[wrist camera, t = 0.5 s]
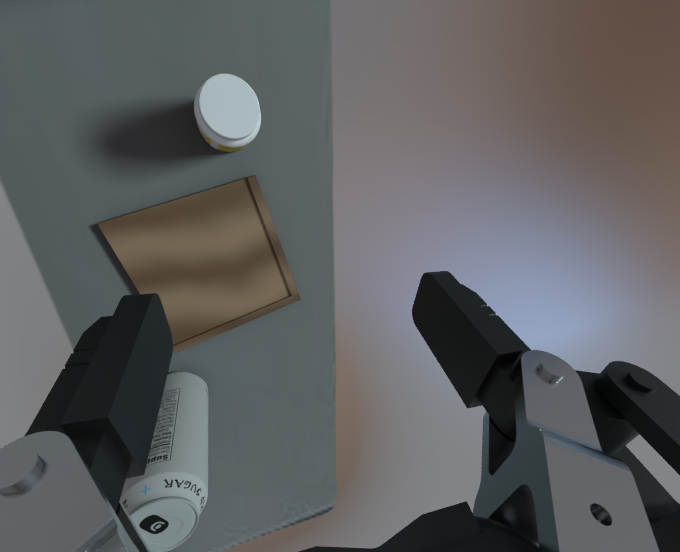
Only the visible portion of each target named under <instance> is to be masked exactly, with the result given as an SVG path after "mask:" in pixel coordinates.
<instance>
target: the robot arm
mask: <svg viewBox="0 0 680 552" xmlns="http://www.w3.org/2000/svg"><path fill="white" fill-rule="evenodd" d="M412 316H413V320H414V323H415V325H416V327H417V329H418V330H419V332H420V333H421V335H422V337H423V338H424V340H425V341H426V343H427V345H428V346H429V348H430V349H431V351H432V353H433V354H434V356H435V357H436V359H437V360H438V362H439V363H440V365H441V367H442V368H443V370H444V372H445V373H446V375H447V376H448V378H449V379H450V381H451V383H452V384H453V386H454V388H455V389H456V391H457V392H458V394H459V396H460V397H461V399H462V400H463V402H464V403H465V405H466V407H467V408H471V407H476V406H481V405H483V407H484V408H485V410H486V413H485V415H484V417H483V442H482V471H481V473H482V475H481V483H480V487H479V490H478V493H477V496H476V499H475V504H474V509H473V513H472V512H471V509H470V507H469V505H468V503H467V502H463V503H459V504H456V505H453V506H450V507H446V508H443V509H439V510H436V511H433V512H429V513H426V514H423V515H421V516H420V517H418V518H417V519H416V520H414V521H413V522H412V523H410V524H409V525H408V526H406V527H405V528H404V529H403V530H401V531H400V532H399V533H397V534H396V535H394V536H393V537H392V538H391V539H389V540H388V541H387V542H385V543H384V544H383V545H381V546H380V547H377V548H373V549H365V548H341V547H318V546H316V547H313V548H309V549H306V550H303V551H299V552H680V504H679V503H678V502H676V501H675V500H674V499H673V498H672V496H671V495H670V494H669V493H668V492H667V491H666V490H665V489H664V488H663V486H662V485H661V484H660V483H659V482H658V481H657V480H656V479H655V478H654V477H653V475H652V474H650V472H649V471H648V470H647V469H646V468H645V467H644V466H643V465H642V464H641V462H640V461H639V460H638V459H637V458H636V457H635V456H634V455H633V453H631V452H630V450H629V449H628V448H627V447H626V446H625V445H627V444H628V443H629V442H630V441H632V440H633V439H634V438H635V437H636V436H638V435H639V434H640V435H641V436H642V437H643V438H644V439H645V440H646V441H647V442H648V443H649V444H650V445H651V446H652V447H653V448H654V449H655V450H656V451H657V452H658V453H659V454H660V455H661V456H662V457H663V459H665V461H666V462H668V464H669V465H670V466H671V467H672V468H673V469H674V470H675V471H676V472H677V473H678V474H679V475H680V396H679V395H678V394H677V393H675V392H674V391H673V390H672V389H671V388H669V387H668V386H667V385H666V384H664V383H663V382H662V381H661V380H659V379H658V378H657V377H656V376H654V375H653V374H651V373H650V372H648V371H646V370H644V369H642V368H640V367H638V366H636V365H633V364H630V363H627V362H621V361H615V362H611V363H609V364H608V365H607V366H606V367H605V369H604V370H603V371H602V372H601V373H600V374H598V373H590V372H582V371H575V370H574V369H573V368H572V367H571V366H570V365H569V364H568V363H566V362H565V361H563V360H562V359H560V358H559V357H557V356H555V355H553V354H550V353H548V352H544V351H539V350H531V349H529V347H527V346H526V345H525V344H524V342H523V341H522V340H521V339H520V338H519V337H518V336H517V335H516V334H515V333H514V332H513V331H512V330H511V329H510V328H509V327H508V326H507V325H506V324H505V323H504V321H503V320H502V319H501V318H500V317H499V316H496V314H495V312H494V311H493V310H492V309H491V308H490V307H489V306H488V307H487V304H486V303H485V302H484V301H483V299H482V298H480V296H479V295H478V294H477V293H475V292H474V291H472V290H470V289H469V288H467V287H466V286H464V285H461V284H460V283H459V282H458V281H457V280H456V279H455V278H454V276H453V275H452V274H451V273H449V272H448V271H440V272H428V273H424V274H423V276H422V278H421V281H420V284H419V287H418V291H417V294H416V298H415V301H414V304H413V308H412ZM172 351H173V339H172V333H171V330H170V327H169V324H168V321H167V318H166V314H165V311H164V308H163V305H162V302H161V299H160V297H159V295H158V294H157V293H151V294H138V295H126V296H123V297H122V298H121V300H120V302H119V304H118V306H117V308H116V310H115V312H114V314H113V316H107V317H101V318H99V319H98V320H97V321H96V322H95V323H94V324H93V325H92V326H90V327H89V328H88V329H87V330H86V331H85V332H84V333H83V334H82V336H81V338H80V339H79V341H78V343H77V345H76V347H75V348H74V353H73V354H71V356H70V357H69V359H68V361H67V363H66V364H65V369H63V370H62V371H61V373H60V375H59V377H58V379H57V380H56V382H55V384H54V386H53V388H52V389H51V391H50V393H49V394H48V396H47V398H46V400H45V402H44V403H43V405H42V407H41V409H40V411H39V413H38V414H37V416H36V418H35V419H34V421H33V423H32V425H31V426H30V428H29V430H28V432H27V433H26V435H25V436H24V437H22V438H20V439H18V440H16V441H14V442H12V443H10V444H8V445H6V446H5V447H3V448H2V449H0V552H150V550H149V548H148V547H147V545H146V543H145V541H144V540H143V538H142V536H141V535H140V533H139V531H138V530H137V528H136V526H135V524H134V523H133V521H132V519H131V518H130V516H129V514H128V513H127V511H126V509H125V507H124V506H123V504H122V502H121V501H120V497H121V494H122V490H123V486H124V483H125V479H127V478H132V477H137V476H141V475H144V473H145V469H146V465H147V460H148V456H149V452H150V448H151V443H152V439H153V435H154V430H155V426H156V422H157V417H158V413H159V409H160V404H161V400H162V396H163V392H164V387H165V383H166V379H167V374H168V370H169V366H170V361H171V357H172Z"/></svg>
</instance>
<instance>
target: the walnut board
mask: <svg viewBox="0 0 680 552" xmlns="http://www.w3.org/2000/svg"><path fill="white" fill-rule="evenodd" d="M98 226H99V228H100V229H101V231H102V232H103V234H104V236H105V237H106V239H107V241H108V242H109V244H110V246H111V247H112V249H113V251H114V252H115V254H116V255H117V257H118V259H119V260H120V262H121V264H122V265H123V267H124V269H125V270H126V272H127V274H128V275H129V277H130V278H131V280H132V282H133V283H134V285H135V287H136V288H137V290H138V292H139V293H140V294H151V293H157V294H158V295H159V297H160V299H161V302H162V305H163V308H164V311H165V314H166V318H167V321H168V324H169V327H170V330H171V333H172V339H173V351H174V353H177V352H179V351H181V350H184V349H186V348H188V347H191V346H193V345H195V344H198V343H200V342H202V341H205V340H207V339H209V338H212V337H214V336H216V335H219V334H221V333H223V332H226V331H228V330H230V329H233V328H235V327H237V326H239V325H242V324H244V323H246V322H249V321H251V320H253V319H256V318H258V317H260V316H263V315H265V314H267V313H270V312H272V311H274V310H277V309H279V308H281V307H284V306H286V305H288V304H291V303H293V302H295V301H298V300H300V296H299V294H298V291H297V288H296V285H295V283H294V280H293V277H292V274H291V272H290V269H289V266H288V263H287V261H286V258H285V255H284V253H283V250H282V247H281V244H280V242H279V239H278V236H277V233H276V231H275V228H274V225H273V222H272V220H271V217H270V214H269V211H268V209H267V206H266V203H265V200H264V198H263V195H262V192H261V189H260V187H259V184H258V181H257V178H256V176H251V177H248V178H244V179H241V180H238V181H235V182H231V183H228V184H225V185H222V186H218V187H215V188H212V189H208V190H205V191H202V192H199V193H195V194H192V195H189V196H186V197H182V198H179V199H176V200H173V201H169V202H166V203H163V204H159V205H156V206H153V207H150V208H146V209H143V210H140V211H137V212H133V213H130V214H127V215H123V216H120V217H117V218H114V219H110V220H107V221H104V222H101V223H98Z"/></svg>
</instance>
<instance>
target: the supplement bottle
mask: <svg viewBox="0 0 680 552" xmlns="http://www.w3.org/2000/svg"><path fill="white" fill-rule="evenodd" d="M194 113H195V118H196V121H197V125H198V128H199V131H200V133H201V135H202V137H203V138H204V139H205V141H206V142H207V143H208V144H209V145H211V146H212V147H213V148H215V149H217V150H220V151H223V152H236V151H239V150H241V149H243V148H244V147H245V146H246V145H248V144H249V143H250V142H251V141H252V140H253V139H254V138H255V137H256V135H257V133H258V131H259V128H260V124H261V113H260V106H259V102H258V99H257V96H256V94H255V93H254V91H253V90H252V88H251V87H250V86H249V85H248V84H247V83H246V82H245V81H244V80H242V79H240V78H239V77H237V76H234V75H231V74H218V75H215V76H212V77H211V78H209V79H208V80H207V81H206V82H205V83H204V84H203V85H202V86H201V87H200V88H199V90H198V91H197V94H196V96H195V100H194Z"/></svg>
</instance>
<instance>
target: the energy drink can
mask: <svg viewBox="0 0 680 552" xmlns="http://www.w3.org/2000/svg"><path fill="white" fill-rule="evenodd" d="M207 498H208V388H207V385H206V383H205V382H204V381H203V380H202V379H201V378H200V377H198V376H196V375H194V374H192V373H188V372H175V373H171V374H168V375H167V379H166V383H165V387H164V392H163V396H162V400H161V404H160V409H159V413H158V417H157V422H156V426H155V430H154V435H153V439H152V443H151V448H150V452H149V456H148V460H147V465H146V469H145V473H144V475H141V476H137V477H132V478H127V479H125V483H124V486H123V490H122V494H121V497H120V501H121V502H122V504H123V506H124V507H125V509H126V511H127V513H128V514H129V516H130V518H131V519H132V521H133V523H134V524H135V526H136V528H137V530H138V531H139V533H140V535H141V536H142V538H143V540H144V541H145V543H146V545H147V547H148V548H149V550H150V552H167V551H170V550H172V549H174V548H175V547H177V546H179V545H180V544H182V543H183V542H184V541H185V540H187V539H188V538H189V537H190V535H191V534H192V533H193V532H194V530H195V528H196V526H197V524H198V518H199V515H200V513H201V511H202V509H203V508H204V506H205V504H206V501H207Z"/></svg>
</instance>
